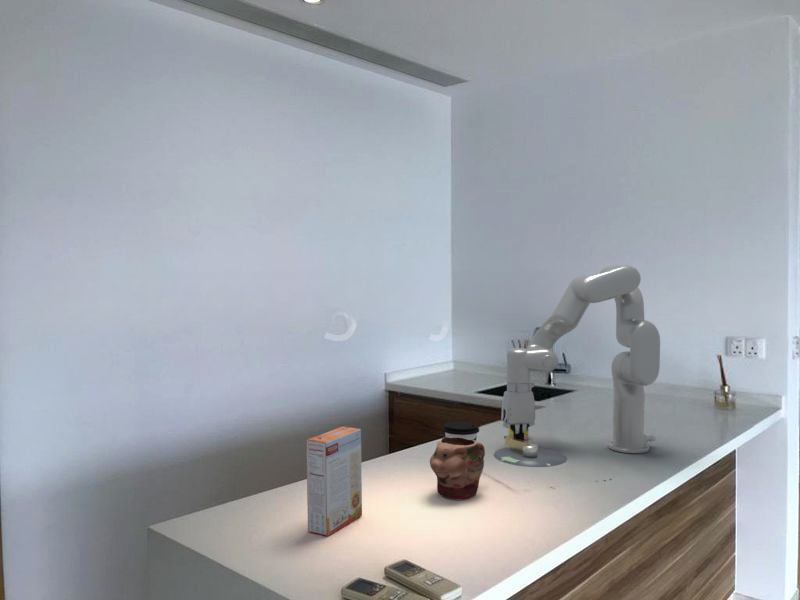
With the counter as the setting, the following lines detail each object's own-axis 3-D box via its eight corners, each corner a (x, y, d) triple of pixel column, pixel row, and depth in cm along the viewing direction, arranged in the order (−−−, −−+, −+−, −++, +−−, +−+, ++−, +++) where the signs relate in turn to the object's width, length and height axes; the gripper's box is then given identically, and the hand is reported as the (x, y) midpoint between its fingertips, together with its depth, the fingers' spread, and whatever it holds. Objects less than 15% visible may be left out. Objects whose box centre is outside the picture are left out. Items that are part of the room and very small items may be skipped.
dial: (540, 447, 213) (540, 443, 213) (582, 466, 193) (582, 461, 193) (480, 454, 205) (480, 449, 205) (517, 474, 185) (517, 469, 185)
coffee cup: (482, 461, 197) (482, 422, 197) (474, 472, 187) (475, 430, 186) (447, 458, 201) (447, 419, 200) (438, 468, 191) (438, 427, 190)
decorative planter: (461, 478, 181) (462, 429, 180) (500, 487, 173) (500, 436, 173) (418, 497, 166) (418, 443, 165) (458, 508, 158) (458, 452, 157)
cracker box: (341, 511, 156) (341, 425, 155) (363, 516, 153) (363, 428, 152) (305, 532, 144) (304, 438, 143) (327, 537, 141) (327, 441, 140)
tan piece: (540, 455, 198) (540, 444, 198) (530, 458, 196) (530, 446, 196) (510, 446, 209) (510, 435, 209) (499, 448, 207) (500, 437, 206)
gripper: (533, 384, 212) (533, 440, 213) (492, 387, 207) (492, 444, 208) (545, 388, 205) (545, 445, 206) (503, 391, 200) (503, 450, 201)
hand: (518, 444), depth 207 cm, fingers closed
